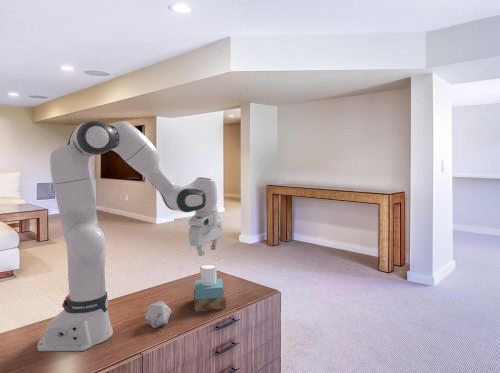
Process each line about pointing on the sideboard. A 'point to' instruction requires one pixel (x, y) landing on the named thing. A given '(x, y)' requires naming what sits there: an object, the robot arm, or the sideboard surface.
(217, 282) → the tower top block
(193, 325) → the sideboard surface
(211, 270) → the white rimmed cylinder
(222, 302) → the tower base block
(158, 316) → the die
